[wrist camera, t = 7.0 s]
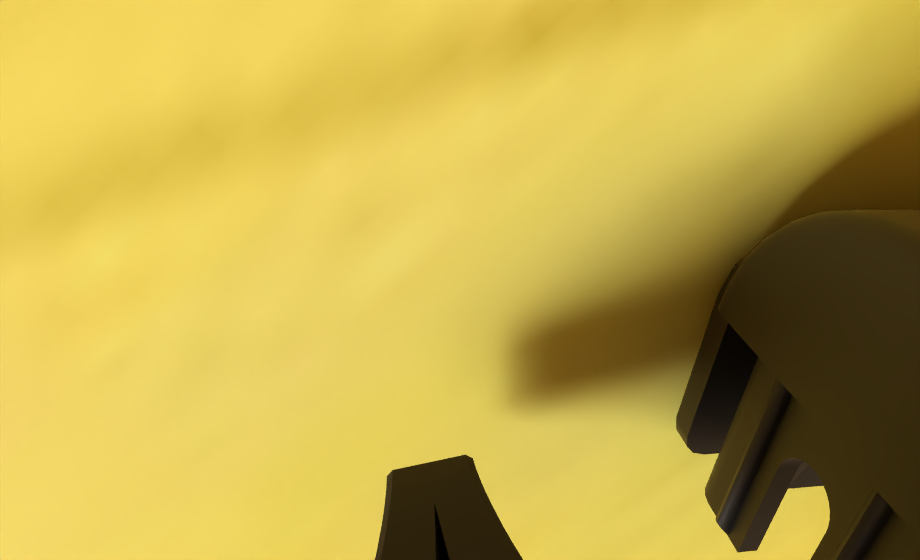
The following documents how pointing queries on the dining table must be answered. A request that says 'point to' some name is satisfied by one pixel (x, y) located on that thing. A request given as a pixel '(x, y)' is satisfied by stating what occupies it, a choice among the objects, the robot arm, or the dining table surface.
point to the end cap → (817, 383)
